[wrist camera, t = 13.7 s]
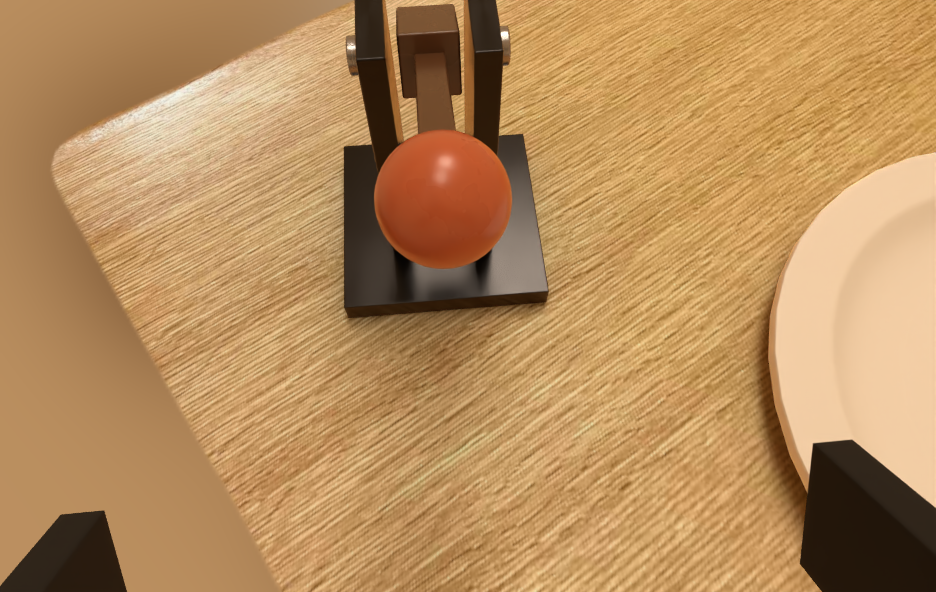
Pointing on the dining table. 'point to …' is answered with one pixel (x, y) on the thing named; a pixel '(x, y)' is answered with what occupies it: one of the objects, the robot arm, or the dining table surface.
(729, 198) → the dining table surface
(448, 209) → the lever rod
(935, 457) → the plate
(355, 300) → the rod bracket
